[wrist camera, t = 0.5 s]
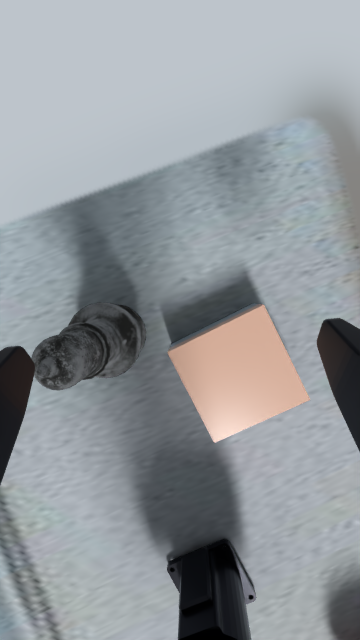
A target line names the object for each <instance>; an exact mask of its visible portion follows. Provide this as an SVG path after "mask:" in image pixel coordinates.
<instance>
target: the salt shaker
mask: <svg viewBox="0 0 360 640" xmlns="http://www.w3.org/2000/svg"><path fill="white" fill-rule="evenodd" d="M145 340H146V330H145V326H144V323H143V321H142V319H141V317H140V316H139V315H138V314H137V313H136V312H135V311H133V310H132V309H130V308H129V307H126V306H123V305H114V304H111V303H95V304H90V305H88V306H86V307H84V308H82V309H81V310H80V311H79V312H78V313H76V314H75V315H74V317H73V318H72V320H71V322H70V323H69V326H68V327H66V328H65V329H64V330H62V331H61V332H60V334H59V335H55V336H52V337H49V338H47V339H45V340H44V341H42V342H41V343H40V344H39V345H38V346H37V347H36V349H35V350H34V352H33V355H32V358H31V359H32V360H33V362H34V364H35V373H34V376H35V378H36V379H37V380H38V382H39V383H40V384H42V385H43V386H45V387H46V388H49V389H52V390H63V389H67V388H70V387H72V386H74V385H76V384H77V383H78V382H80V381H81V380H86V379H91V378H94V377H99V378H110V377H115V376H118V375H120V374H122V373H124V372H126V371H127V370H128V369H129V368H130V367H132V366H133V364H134V363H135V361H136V360H137V358H138V356H139V353H140V351H141V350H142V348H143V346H144V343H145Z"/></svg>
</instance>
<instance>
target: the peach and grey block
mask: <svg viewBox="0 0 360 640" xmlns="http://www.w3.org/2000/svg"><path fill="white" fill-rule="evenodd" d="M167 353H168V355H169V357H170V359H171V360H172V362H173V364H174V366H175V368H176V370H177V372H178V374H179V376H180V378H181V380H182V382H183V384H184V385H185V387H186V389H187V391H188V393H189V395H190V397H191V399H192V401H193V403H194V405H195V407H196V409H197V411H198V412H199V414H200V416H201V418H202V420H203V422H204V424H205V426H206V428H207V430H208V432H209V434H210V436H211V437H212V439H213V441H214V443H215V442H218V441H220V440H222V439H224V438H226V437H229V436H231V435H233V434H235V433H238V432H240V431H242V430H244V429H246V428H249V427H251V426H253V425H255V424H258V423H260V422H262V421H264V420H266V419H269V418H271V417H273V416H275V415H278V414H280V413H282V412H284V411H286V410H289V409H291V408H293V407H295V406H297V405H300V404H302V403H304V402H306V401H309V400H310V398H309V396H308V394H307V392H306V390H305V388H304V386H303V384H302V382H301V380H300V378H299V376H298V374H297V371H296V369H295V367H294V365H293V363H292V361H291V359H290V357H289V355H288V353H287V351H286V349H285V347H284V345H283V343H282V341H281V339H280V337H279V335H278V333H277V331H276V328H275V326H274V324H273V322H272V320H271V318H270V316H269V314H268V312H267V310H266V308H265V306H264V305H263V304H255V303H253V304H251V305H249V306H247V307H245V308H243V309H241V310H239V311H237V312H235V313H233V314H231V315H229V316H227V317H225V318H223V319H221V320H219V321H217V322H214V323H212V324H210V325H208V326H206V327H204V328H202V329H200V330H198V331H196V332H194V333H192V334H190V335H188V336H186V337H184V338H182V339H180V340H178V341H176V342H174V343H172V344H171V346H170V348H169V350H168V352H167Z"/></svg>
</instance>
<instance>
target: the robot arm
mask: <svg viewBox="0 0 360 640" xmlns="http://www.w3.org/2000/svg"><path fill="white" fill-rule="evenodd" d="M317 347H318V350H319V353H320V357H321V360H322V363H323V366H324V369H325V372H326V375H327V378H328V381H329V384H330V387H331V390H332V392H333V395H334V397H335V400H336V402H337V404H338V406H339V408H340V411H341V413H342V415H343V417H344V419H345V421H346V423H347V426H348V428H349V430H350V432H351V434H352V436H353V438H354V441H355V443H356V445H357V447H358V449H359V451H360V329H359V328H357V327H355V326H353V325H352V324H350V323H348V322H346V321H345V320H343V319H340V318H334V319H326V320H324V321H323V323H322V326H321V329H320V332H319V335H318V338H317ZM34 373H35V364H34V362H33V360H32V359H31V358H30V356H29V355H28V353H27V352H26V351H25V349H24V348H23V347H21V346H11V347H6V348H4V349H3V350H1V351H0V485H1V482H2V479H3V476H4V473H5V470H6V467H7V464H8V462H9V459H10V456H11V453H12V450H13V447H14V444H15V441H16V439H17V436H18V433H19V430H20V427H21V424H22V421H23V418H24V415H25V411H26V407H27V403H28V399H29V394H30V390H31V386H32V381H33V377H34ZM223 546H226V547H223ZM172 567H173V568H172ZM167 571H168V573H169V575H170V577H171V578H172V580H173V582H174V584H175V586H176V588H177V589H178V591H179V593H180V595H179V627H178V640H251V634H250V628H249V622H248V616H247V610H246V604H248V603H251V602H254V601H255V600H256V593H255V590H254V588H253V586H252V584H251V583H250V581H249V579H248V577H247V575H246V573H245V571H244V569H243V567H242V566H241V564H240V562H239V560H238V558H237V556H236V554H235V552H234V550H233V548H232V547H231V545H230V543H229V541H228V540H225V539H224V540H220V541H218V542H216V543H213V544H211V545H208V546H206V547H203V548H201V549H199V550H196V551H194V552H191V553H189V554H186V555H184V556H182V557H179V558H177V559H174V560H172V561H170V562H169V563H168V567H167Z"/></svg>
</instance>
